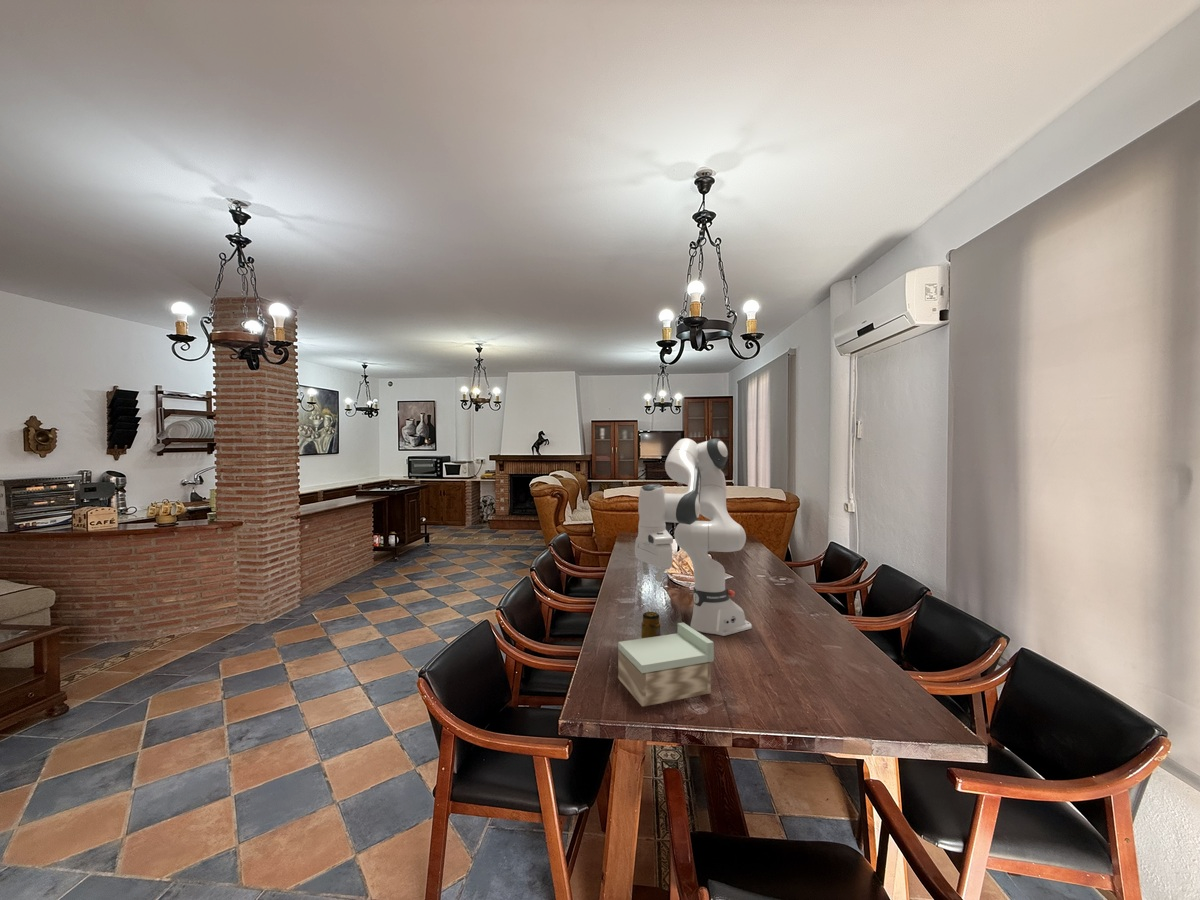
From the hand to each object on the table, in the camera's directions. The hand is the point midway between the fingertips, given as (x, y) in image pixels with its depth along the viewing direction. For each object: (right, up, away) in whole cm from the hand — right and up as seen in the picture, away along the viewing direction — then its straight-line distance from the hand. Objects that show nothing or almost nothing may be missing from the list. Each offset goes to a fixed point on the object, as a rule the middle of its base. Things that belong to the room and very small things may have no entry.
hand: (652, 577), depth 151 cm
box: (+1, -24, -22) cm, 32 cm away
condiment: (0, -24, 0) cm, 24 cm away
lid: (+1, -15, -22) cm, 27 cm away
